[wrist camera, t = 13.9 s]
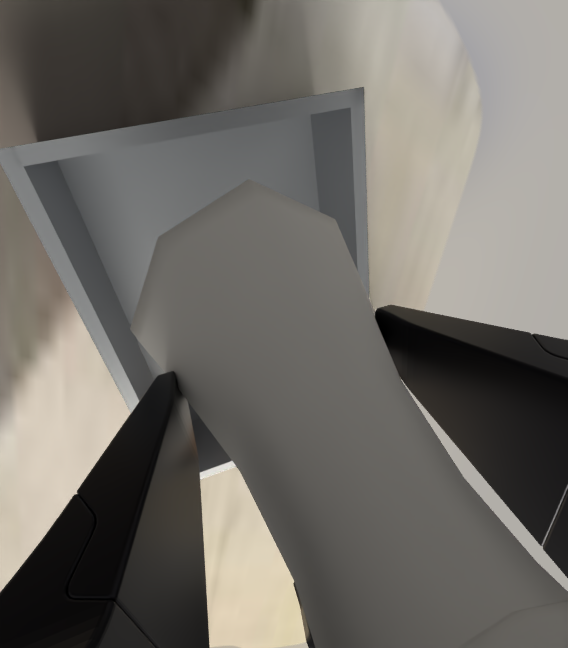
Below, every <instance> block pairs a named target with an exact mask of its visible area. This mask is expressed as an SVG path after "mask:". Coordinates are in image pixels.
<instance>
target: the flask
mask: <svg viewBox="0 0 568 648" xmlns="http://www.w3.org/2000/svg"><path fill="white" fill-rule="evenodd" d="M130 330H131V331H132V333H133V334H134V335H135V337H136V338H137V339H138V341H139V342H140V343H141V345H142V346H143V347H144V348H145V349H146V351H147V352H148V353H149V354H150V355H151V356H152V358H153V359H154V360H155V361H156V362H157V364H158V365H159V366H160V367H161V368H162V370H163V371H164V372H165V373H167V372H170V371H174V372H175V374H176V379H177V384H178V388H179V390H180V391H181V393H182V394H183V395H184V397H185V398H186V399H187V401H188V402H189V403H190V405H191V406H192V407H193V409H194V410H195V411H196V413H197V414H198V415H199V417H200V418H201V420H202V421H203V422H204V424H205V425H206V426H207V428H208V429H209V430H210V432H211V433H212V434H213V436H214V437H215V438H216V440H217V441H218V442H219V444H220V445H221V446H222V448H223V449H224V450H225V452H226V453H227V454H228V456H229V457H230V458H231V460H232V461H233V462H234V464H235V465H236V466H237V468H238V469H239V470H240V472H241V474H242V476H243V478H244V480H245V482H246V484H247V486H248V488H249V490H250V492H251V494H252V496H253V498H254V500H255V502H256V504H257V506H258V508H259V510H260V512H261V514H262V516H263V518H264V520H265V522H266V524H267V527H268V529H269V531H270V533H271V535H272V537H273V539H274V541H275V543H276V545H277V547H278V549H279V551H280V553H281V555H282V557H283V559H284V561H285V563H286V565H287V567H288V569H289V571H290V573H291V575H292V577H293V579H294V582H295V585H296V588H297V591H298V595H299V598H300V601H301V604H302V607H303V610H304V613H305V616H306V620H307V623H308V626H309V629H310V632H311V635H312V638H313V642H314V645H315V648H568V591H567V590H565V589H564V588H563V587H562V586H561V585H560V584H559V583H558V582H557V581H556V580H555V579H554V578H553V577H552V576H551V575H550V574H549V573H548V572H546V570H544V569H543V568H542V567H541V566H540V565H539V564H538V563H537V562H536V561H535V560H534V559H533V557H532V556H531V555H530V554H529V553H528V551H527V550H526V549H525V548H524V547H523V546H522V545H521V543H520V542H519V541H518V540H517V539H516V538H515V536H514V535H513V534H512V533H511V532H510V531H509V529H508V528H507V527H506V526H505V525H504V524H503V523H502V522H501V520H500V519H499V518H498V517H497V516H496V514H495V513H494V512H493V511H492V510H491V509H490V507H489V506H488V505H487V504H486V503H485V502H484V501H483V499H482V498H481V497H480V496H479V495H478V494H477V492H476V491H475V490H474V489H473V488H472V487H471V486H470V484H469V483H468V482H467V481H466V480H465V479H464V477H463V476H462V474H461V473H460V471H459V469H458V468H457V466H456V465H455V463H454V462H453V460H452V459H451V457H450V455H449V454H448V452H447V451H446V449H445V448H444V446H443V445H442V443H441V441H440V440H439V438H438V437H437V435H436V434H435V432H434V431H433V429H432V427H431V426H430V424H429V423H428V421H427V420H426V418H425V417H424V415H423V414H422V412H421V410H420V409H419V407H418V406H417V404H416V403H415V401H414V400H413V398H412V396H411V395H410V393H409V392H408V390H407V389H406V387H405V385H404V384H403V382H402V381H401V378H400V376H399V374H398V371H397V369H396V367H395V364H394V362H393V360H392V357H391V355H390V353H389V350H388V348H387V346H386V343H385V341H384V338H383V336H382V334H381V331H380V329H379V326H378V324H377V321H376V319H375V312H374V310H373V307H372V304H371V302H370V299H369V297H368V295H367V292H366V290H365V288H364V285H363V283H362V281H361V278H360V276H359V274H358V271H357V269H356V267H355V264H354V262H353V260H352V257H351V255H350V253H349V250H348V248H347V245H346V243H345V241H344V238H343V236H342V234H341V231H340V229H339V227H338V224H337V222H336V220H335V219H334V218H332V217H329V216H327V215H325V214H323V213H321V212H319V211H317V210H314V209H312V208H310V207H308V206H306V205H304V204H302V203H299V202H297V201H295V200H293V199H291V198H289V197H287V196H284V195H282V194H280V193H278V192H276V191H274V190H271V189H269V188H267V187H265V186H263V185H261V184H259V183H256V182H254V181H252V180H250V179H248V180H247V181H245V182H243V183H242V184H240V185H239V186H237V187H236V188H234V189H233V190H231V191H229V192H228V193H226V194H225V195H223V196H222V197H220V198H218V199H217V200H215V201H214V202H212V203H211V204H209V205H208V206H206V207H204V208H203V209H201V210H200V211H198V212H197V213H195V214H193V215H192V216H190V217H189V218H187V219H186V220H184V221H182V222H181V223H179V224H178V225H176V226H175V227H173V228H172V229H170V230H168V231H167V232H165V233H164V234H162V235H161V236H159V237H158V239H157V242H156V246H155V249H154V252H153V255H152V259H151V262H150V265H149V269H148V272H147V275H146V278H145V282H144V285H143V288H142V291H141V295H140V298H139V301H138V304H137V308H136V311H135V314H134V317H133V321H132V324H131V327H130Z"/></svg>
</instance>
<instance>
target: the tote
mask: <svg viewBox="0 0 568 648" xmlns="http://www.w3.org/2000/svg"><path fill="white" fill-rule="evenodd" d="M0 164H1V166H2V168H3V169H4V171H5V173H6V175H7V177H8V179H9V181H10V183H11V185H12V187H13V189H14V190H15V192H16V194H17V196H18V198H19V200H20V202H21V204H22V206H23V208H24V210H25V212H26V213H27V215H28V217H29V219H30V221H31V223H32V225H33V227H34V229H35V231H36V233H37V234H38V236H39V238H40V240H41V242H42V244H43V246H44V248H45V250H46V252H47V254H48V256H49V257H50V259H51V261H52V263H53V265H54V267H55V269H56V271H57V273H58V275H59V277H60V278H61V280H62V282H63V284H64V286H65V288H66V290H67V292H68V294H69V296H70V298H71V299H72V301H73V303H74V305H75V307H76V309H77V311H78V313H79V315H80V317H81V319H82V321H83V322H84V324H85V326H86V328H87V330H88V332H89V334H90V336H91V338H92V340H93V342H94V343H95V345H96V347H97V349H98V351H99V353H100V355H101V357H102V359H103V361H104V363H105V365H106V366H107V368H108V370H109V372H110V374H111V376H112V378H113V380H114V382H115V384H116V386H117V387H118V389H119V391H120V393H121V395H122V397H123V399H124V401H125V403H126V405H127V407H128V408H129V410H130V412H131V413H132V411H133V410H134V408H135V407H136V405H137V404H138V403H139V401H140V400H141V398H142V397H143V395H144V394H145V393H146V391H147V390H148V388H149V387H150V385H151V384H152V382H153V381H154V380H155V378H156V377H157V376H158V375H160V374H163V373H165V372H164V371H163V370H162V368H161V367H160V366H159V365H158V364H157V362H156V361H155V360H154V359H153V358H152V356H151V355H150V354H149V353H148V352H147V351H146V349H145V348H144V347H143V346H142V345H141V343H140V342H139V341H138V339H137V338H136V337H135V335H134V334H133V333H132V331H131V330H130V327H131V324H132V321H133V317H134V314H135V311H136V308H137V304H138V301H139V298H140V295H141V291H142V288H143V285H144V282H145V278H146V275H147V272H148V269H149V265H150V262H151V259H152V255H153V252H154V249H155V246H156V242H157V239H158V237H159V236H161V235H162V234H164V233H165V232H167V231H168V230H170V229H172V228H173V227H175V226H176V225H178V224H179V223H181V222H182V221H184V220H186V219H187V218H189V217H190V216H192V215H193V214H195V213H197V212H198V211H200V210H201V209H203V208H204V207H206V206H208V205H209V204H211V203H212V202H214V201H215V200H217V199H218V198H220V197H222V196H223V195H225V194H226V193H228V192H229V191H231V190H233V189H234V188H236V187H237V186H239V185H240V184H242V183H243V182H245V181H247V180H248V179H250V180H252V181H254V182H256V183H259V184H261V185H263V186H265V187H267V188H269V189H271V190H274V191H276V192H278V193H280V194H282V195H284V196H287V197H289V198H291V199H293V200H295V201H297V202H299V203H302V204H304V205H306V206H308V207H310V208H312V209H314V210H317V211H319V212H321V213H323V214H325V215H327V216H329V217H332V218H334V219H335V220H336V222H337V224H338V227H339V229H340V231H341V234H342V236H343V238H344V241H345V243H346V245H347V248H348V250H349V253H350V255H351V257H352V260H353V262H354V264H355V267H356V269H357V271H358V274H359V276H360V278H361V281H362V283H363V285H364V288H365V290H366V292H367V295H368V297H369V269H368V230H367V190H366V151H365V112H364V87H361V88H355V89H349V90H343V91H337V92H331V93H326V94H320V95H314V96H308V97H302V98H296V99H290V100H284V101H278V102H273V103H267V104H261V105H255V106H249V107H243V108H237V109H231V110H225V111H220V112H214V113H208V114H202V115H196V116H190V117H184V118H178V119H173V120H167V121H161V122H155V123H149V124H143V125H137V126H131V127H125V128H120V129H114V130H108V131H102V132H96V133H90V134H84V135H78V136H72V137H67V138H61V139H55V140H49V141H43V142H37V143H31V144H25V145H19V146H14V147H8V148H2V149H0ZM188 406H189V411H190V416H191V421H192V426H193V432H194V437H195V442H196V447H197V453H198V459H199V471H200V480H201V479H204V478H206V477H209V476H212V475H215V474H217V473H220V472H223V471H226V470H228V469H231V468H234V467H236V465H235V464H234V462H233V461H232V460H231V458H230V457H229V456H228V454H227V453H226V452H225V450H224V449H223V448H222V446H221V445H220V444H219V442H218V441H217V440H216V438H215V437H214V436H213V434H212V433H211V432H210V430H209V429H208V428H207V426H206V425H205V424H204V422H203V421H202V420H201V418H200V417H199V415H198V414H197V413H196V411H195V410H194V409H193V407H192V406H191V405H190V403H189V402H188Z"/></svg>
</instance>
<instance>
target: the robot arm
mask: <svg viewBox="0 0 568 648" xmlns="http://www.w3.org/2000/svg"><path fill="white" fill-rule="evenodd" d="M375 319H376V321H377V324H378V326H379V329H380V331H381V334H382V336H383V338H384V341H385V343H386V346H387V348H388V350H389V353H390V355H391V357H392V360H393V362H394V364H395V367H396V369H397V371H398V374H399V376H400V377H401V379H402V380H403V382H404V383H405V385H406V386H407V387H408V388H409V390H410V391H411V392H412V393H413V395H414V396H415V397H416V398H417V399H418V401H419V402H420V403H421V404H422V405H423V406H424V408H425V409H426V410H427V411H428V412H429V414H430V415H431V416H432V417H433V418H434V420H435V421H436V422H437V423H438V424H439V425H440V427H441V428H442V429H443V430H444V431H445V433H446V434H447V435H448V436H449V437H450V439H451V440H452V441H453V442H454V443H455V445H456V446H457V447H458V448H459V449H460V450H461V452H462V453H463V454H464V455H465V456H466V457H467V459H468V460H469V461H470V462H471V463H472V465H473V466H474V467H475V468H476V469H477V471H478V472H479V473H480V474H481V475H482V476H483V478H484V479H485V480H486V481H487V483H488V484H489V485H490V486H491V487H492V488H493V489H494V491H495V492H496V493H497V494H498V495H499V497H500V498H501V499H502V500H503V502H504V503H505V504H506V505H507V506H508V507H509V509H510V510H511V511H512V512H513V513H514V514H515V516H516V517H517V518H518V519H519V520H520V522H521V523H522V524H523V525H524V526H525V528H526V529H527V530H528V531H529V532H530V533H531V535H532V536H533V537H534V538H535V540H536V541H537V542H538V543H539V544H540V545H541V546H543V549H544V551H545V552H546V553H547V554H548V555H549V557H550V558H551V559H552V560H553V561H554V562H555V564H556V565H557V566H558V567H559V568H560V570H561V571H562V572H563V573H564V574H565V576H567V578H568V340H564V339H559V338H553V337H549V336H544V335H539V334H531V333H529V332H524V331H519V330H514V329H508V328H504V327H498V326H494V325H488V324H484V323H479V322H474V321H469V320H464V319H459V318H454V317H449V316H444V315H439V314H434V313H429V312H424V311H420V310H415V309H410V308H405V307H400V306H395V305H387V306H384V307H381V308H378V309H377V310H376V312H375ZM293 584H294V587H295V591H296V594H297V597H298V601H299V604H300V609H301V614H302V619H303V625H304V630H305V636H306V641H307V644H308V647H309V648H315V645H314V642H313V638H312V635H311V632H310V629H309V626H308V623H307V620H306V616H305V613H304V610H303V607H302V604H301V601H300V598H299V595H298V591H297V588H296V585H295V582H294V583H293ZM0 648H209V630H208V613H207V595H206V577H205V559H204V542H203V524H202V506H201V488H200V471H199V459H198V453H197V447H196V442H195V437H194V432H193V426H192V421H191V416H190V411H189V406H188V401H187V399H186V398H185V397H184V395H183V394H182V393H181V391H180V390H179V388H178V384H177V379H176V374H175V372H174V371H170V372H167V373H163V374H160V375H158V376H157V377H156V378H155V380H154V381H153V382H152V384H151V385H150V387H149V388H148V390H147V391H146V393H145V394H144V395H143V397H142V398H141V400H140V401H139V403H138V404H137V405H136V407H135V408H134V410H133V411H132V413H131V414H130V416H129V417H128V418H127V420H126V421H125V423H124V424H123V426H122V427H121V428H120V430H119V431H118V433H117V434H116V436H115V437H114V438H113V440H112V441H111V443H110V444H109V446H108V447H107V449H106V450H105V451H104V453H103V454H102V456H101V457H100V459H99V460H98V461H97V463H96V464H95V466H94V467H93V469H92V470H91V472H90V473H89V474H88V476H87V477H86V479H85V480H84V482H83V483H82V484H81V486H80V487H79V489H78V490H77V494H75V495H74V496H73V497H72V499H71V500H70V501H69V503H68V504H67V506H66V507H65V509H64V510H63V512H62V513H61V514H60V516H59V517H58V518H57V520H56V521H55V523H54V524H53V525H52V527H51V528H50V529H49V531H48V532H47V534H46V535H45V536H44V538H43V539H42V540H41V542H40V543H39V544H38V546H37V547H36V548H35V549H34V551H33V552H32V553H31V555H30V556H29V557H28V558H27V560H26V561H25V562H24V563H23V565H22V566H21V567H20V569H19V570H18V571H17V572H16V574H15V575H14V576H13V577H12V579H11V580H10V581H9V582H8V584H7V585H6V586H5V587H4V589H3V590H2V591H1V592H0Z"/></svg>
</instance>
